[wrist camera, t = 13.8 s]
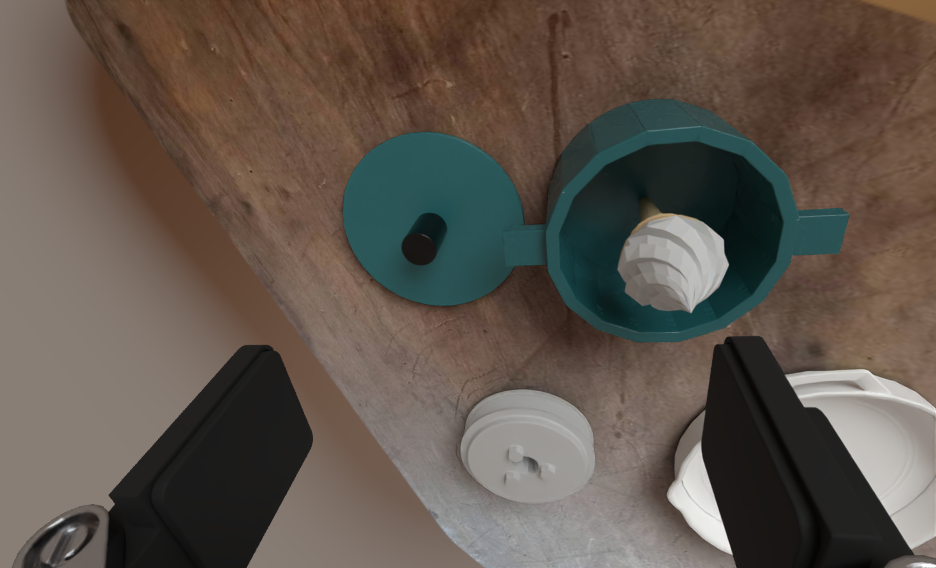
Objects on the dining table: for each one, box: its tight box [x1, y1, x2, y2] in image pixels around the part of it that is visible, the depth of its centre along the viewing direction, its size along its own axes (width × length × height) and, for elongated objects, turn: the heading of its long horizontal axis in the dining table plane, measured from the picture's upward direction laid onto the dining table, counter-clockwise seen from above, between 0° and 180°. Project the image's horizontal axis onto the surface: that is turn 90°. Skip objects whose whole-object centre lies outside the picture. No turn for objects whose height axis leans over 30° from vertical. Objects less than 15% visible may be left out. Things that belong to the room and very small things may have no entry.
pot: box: [502, 99, 849, 342], centre depth 32 cm, size 14×19×8 cm
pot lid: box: [343, 132, 525, 306], centre depth 37 cm, size 15×15×5 cm
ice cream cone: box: [617, 197, 729, 313], centre depth 29 cm, size 6×6×15 cm
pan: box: [667, 369, 936, 555], centre depth 44 cm, size 24×27×4 cm
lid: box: [461, 389, 595, 504], centre depth 47 cm, size 13×13×5 cm
